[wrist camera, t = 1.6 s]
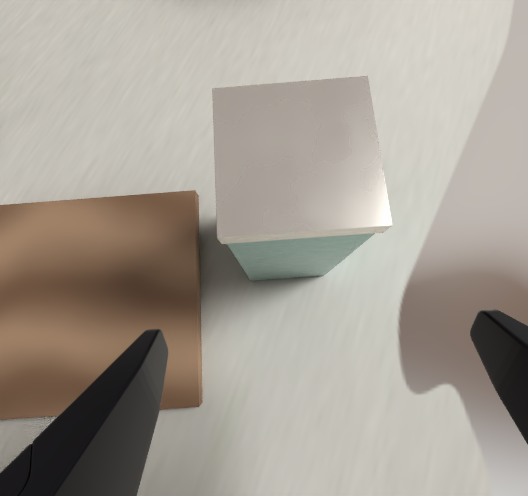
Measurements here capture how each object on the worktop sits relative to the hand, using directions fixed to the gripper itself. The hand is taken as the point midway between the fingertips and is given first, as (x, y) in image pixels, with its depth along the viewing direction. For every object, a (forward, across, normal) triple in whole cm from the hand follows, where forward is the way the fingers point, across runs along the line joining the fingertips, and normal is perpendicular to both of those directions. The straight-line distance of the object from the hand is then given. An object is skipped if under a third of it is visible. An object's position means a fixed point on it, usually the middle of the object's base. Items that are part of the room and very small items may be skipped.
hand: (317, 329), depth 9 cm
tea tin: (+12, 0, +4) cm, 13 cm away
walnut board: (+10, +13, +7) cm, 18 cm away
